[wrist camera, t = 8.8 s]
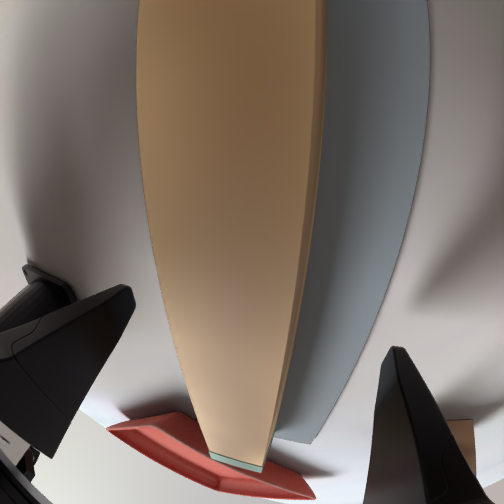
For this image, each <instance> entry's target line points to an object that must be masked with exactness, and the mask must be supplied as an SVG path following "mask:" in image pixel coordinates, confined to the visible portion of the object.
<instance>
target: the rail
mask: <svg viewBox="0 0 504 504" xmlns="http://www.w3.org/2000/svg"><path fill="white" fill-rule="evenodd" d="M326 66H327V0H140V1H139V12H138V27H137V51H136V95H137V120H138V136H139V149H140V160H141V170H142V180H143V188H144V196H145V204H146V211H147V218H148V224H149V231H150V237H151V242H152V248H153V254H154V259H155V264H156V269H157V274H158V279H159V284H160V289H161V293H162V298H163V302H164V306H165V311H166V315H167V319H168V323H169V327H170V331H171V335H172V338H173V342H174V346H175V349H176V353H177V357H178V360H179V363H180V367H181V370H182V374H183V377H184V380H185V383H186V386H187V390H188V393H189V396H190V399H191V402H192V405H193V408H194V410H195V413H196V416H197V419H198V422H199V425H200V427H201V430H202V433H203V435H204V438H205V441H206V443H207V446H208V448H209V451H208V452H209V454H210V456H211V458H212V459H215V460H217V461H220V462H224V463H227V464H230V465H233V466H237V467H240V468H244V469H247V470H251V471H255V472H259V473H261V472H262V469H263V466H264V464H265V461H266V458H267V455H268V452H269V449H270V446H271V443H272V440H273V437H274V434H275V431H276V427H277V419H278V415H279V411H280V407H281V402H282V398H283V394H284V389H285V385H286V380H287V376H288V371H289V366H290V361H291V357H292V352H293V347H294V341H295V336H296V331H297V326H298V320H299V315H300V309H301V303H302V298H303V292H304V285H305V279H306V273H307V266H308V260H309V253H310V246H311V239H312V231H313V224H314V216H315V208H316V199H317V190H318V181H319V171H320V160H321V149H322V137H323V124H324V109H325V91H326Z"/></svg>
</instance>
